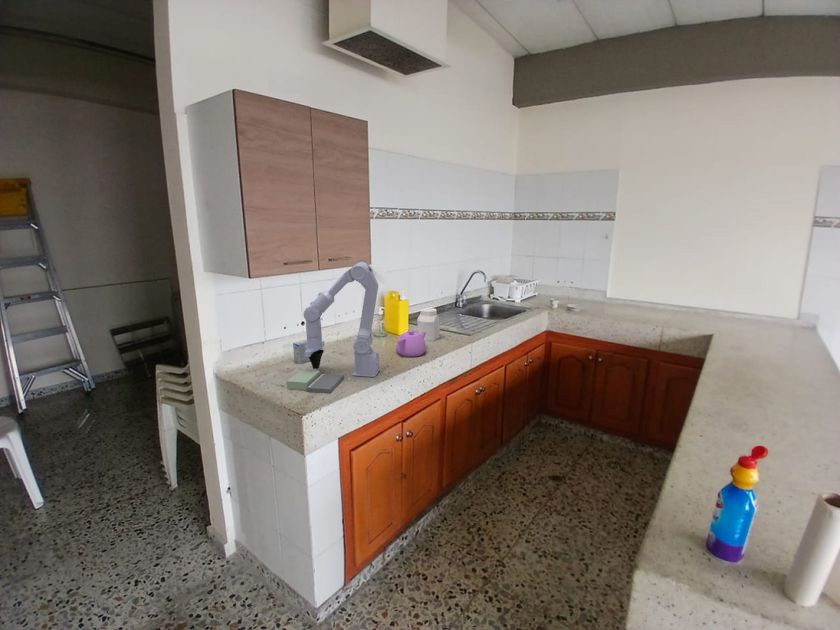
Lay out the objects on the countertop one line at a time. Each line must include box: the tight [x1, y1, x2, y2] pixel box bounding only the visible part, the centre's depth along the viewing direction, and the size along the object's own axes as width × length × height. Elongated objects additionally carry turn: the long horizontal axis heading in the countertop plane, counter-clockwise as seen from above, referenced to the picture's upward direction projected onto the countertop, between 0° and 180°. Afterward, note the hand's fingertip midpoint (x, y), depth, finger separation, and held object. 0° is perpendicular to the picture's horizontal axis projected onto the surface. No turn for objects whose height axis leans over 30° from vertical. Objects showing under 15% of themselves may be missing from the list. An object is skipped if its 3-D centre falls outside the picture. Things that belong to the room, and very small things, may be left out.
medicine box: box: [292, 339, 311, 365], centre depth 182 cm, size 8×4×9 cm, turn 141°
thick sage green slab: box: [286, 369, 321, 391], centre depth 158 cm, size 8×12×3 cm, turn 170°
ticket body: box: [306, 373, 345, 394], centre depth 156 cm, size 9×14×2 cm, turn 170°
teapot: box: [395, 329, 427, 358], centre depth 193 cm, size 14×20×11 cm
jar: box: [416, 307, 441, 342], centre depth 214 cm, size 12×10×15 cm
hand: (316, 368), depth 168 cm, fingers closed
